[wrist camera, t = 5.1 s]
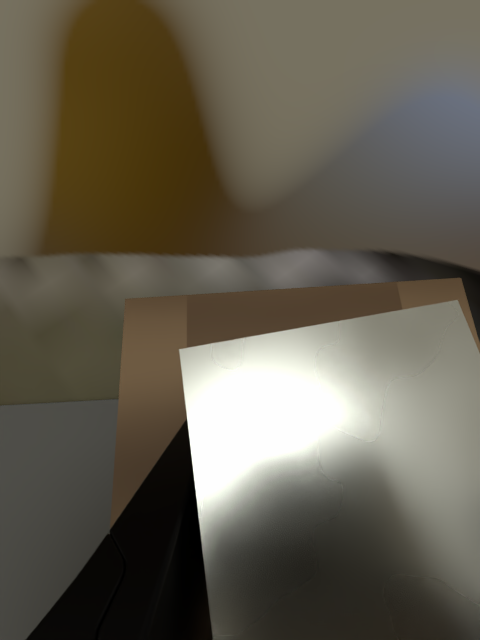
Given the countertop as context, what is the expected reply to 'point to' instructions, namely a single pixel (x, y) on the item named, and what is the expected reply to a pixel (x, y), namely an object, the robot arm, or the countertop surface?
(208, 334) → the brown square tray
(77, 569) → the rubber pad
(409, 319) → the steel peg
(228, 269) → the countertop surface
